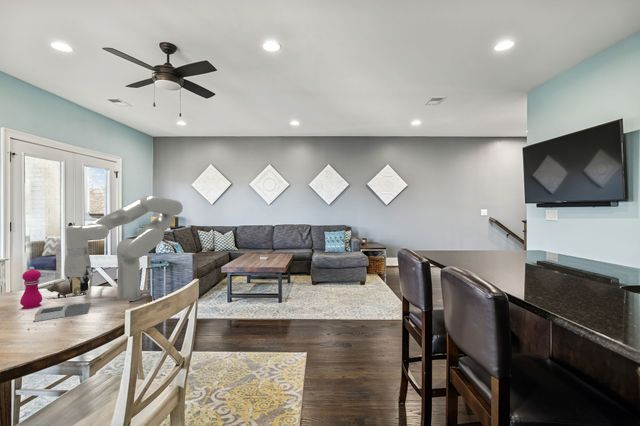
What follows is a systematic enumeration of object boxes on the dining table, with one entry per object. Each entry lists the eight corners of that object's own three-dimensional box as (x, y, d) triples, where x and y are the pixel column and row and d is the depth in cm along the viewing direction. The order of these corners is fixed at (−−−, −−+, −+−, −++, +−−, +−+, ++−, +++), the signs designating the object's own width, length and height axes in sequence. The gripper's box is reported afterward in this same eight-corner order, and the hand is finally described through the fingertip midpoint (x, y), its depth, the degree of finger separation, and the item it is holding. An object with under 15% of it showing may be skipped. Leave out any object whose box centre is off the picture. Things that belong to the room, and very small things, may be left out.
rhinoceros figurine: (90, 291, 150) (69, 270, 147) (62, 310, 144) (40, 289, 140) (93, 289, 157) (73, 269, 153) (66, 307, 151) (44, 286, 147)
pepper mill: (27, 313, 125) (28, 268, 125) (15, 312, 127) (15, 267, 127) (46, 307, 133) (46, 265, 132) (34, 306, 134) (35, 264, 134)
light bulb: (87, 290, 135) (86, 273, 134) (85, 293, 131) (85, 276, 130) (73, 292, 132) (72, 275, 132) (71, 295, 128) (70, 277, 127)
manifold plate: (91, 305, 137) (91, 297, 137) (87, 317, 122) (87, 308, 122) (42, 312, 127) (43, 303, 127) (32, 326, 112) (32, 316, 112)
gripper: (53, 252, 128) (55, 292, 129) (85, 253, 125) (86, 293, 126) (70, 250, 136) (72, 287, 136) (100, 250, 133) (102, 288, 133)
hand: (79, 290), depth 131 cm, fingers closed on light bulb, 5 cm apart
